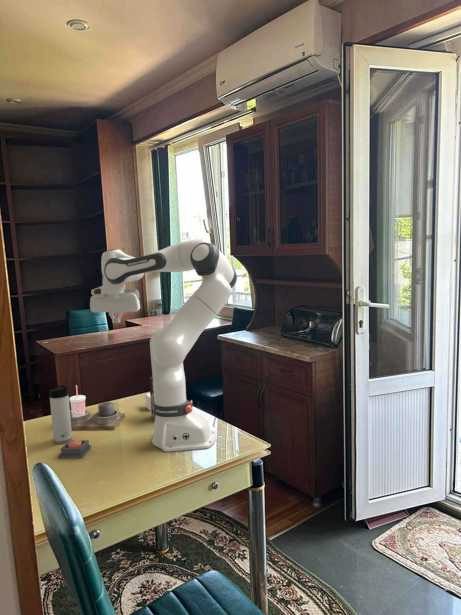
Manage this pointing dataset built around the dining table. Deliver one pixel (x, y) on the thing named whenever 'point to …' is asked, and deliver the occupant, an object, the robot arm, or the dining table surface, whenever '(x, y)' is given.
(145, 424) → the dining table surface
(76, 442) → the button
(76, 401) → the beverage cup
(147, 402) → the adhesive note
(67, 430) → the travel mug
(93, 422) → the cup holder tray
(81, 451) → the button housing
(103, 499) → the dining table surface
